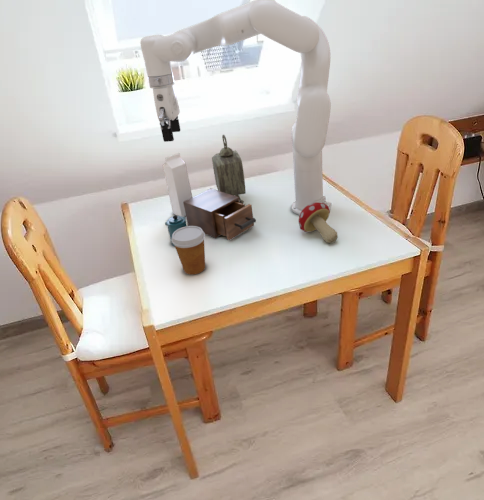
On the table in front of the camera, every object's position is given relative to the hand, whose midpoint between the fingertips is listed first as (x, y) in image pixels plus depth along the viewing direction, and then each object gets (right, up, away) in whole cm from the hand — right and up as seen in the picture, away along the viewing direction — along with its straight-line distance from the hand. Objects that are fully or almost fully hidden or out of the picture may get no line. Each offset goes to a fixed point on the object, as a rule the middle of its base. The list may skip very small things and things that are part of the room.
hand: (172, 136), depth 142 cm
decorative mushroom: (+47, -33, -4) cm, 57 cm away
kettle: (+2, -34, +2) cm, 34 cm away
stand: (+13, -28, +9) cm, 32 cm away
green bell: (+18, -18, +25) cm, 36 cm away
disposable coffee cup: (+9, -42, -13) cm, 45 cm away
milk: (+1, -23, +20) cm, 31 cm away
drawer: (+19, -30, +4) cm, 36 cm away
